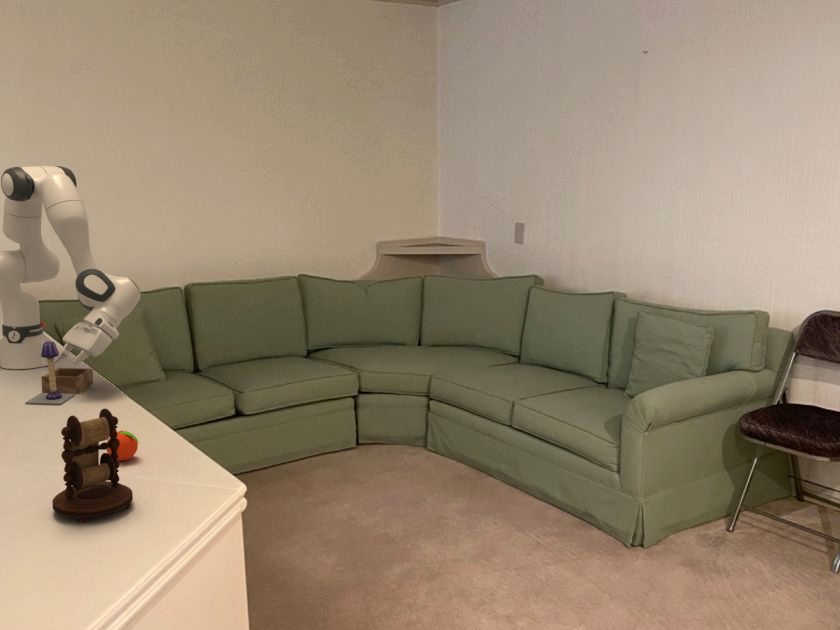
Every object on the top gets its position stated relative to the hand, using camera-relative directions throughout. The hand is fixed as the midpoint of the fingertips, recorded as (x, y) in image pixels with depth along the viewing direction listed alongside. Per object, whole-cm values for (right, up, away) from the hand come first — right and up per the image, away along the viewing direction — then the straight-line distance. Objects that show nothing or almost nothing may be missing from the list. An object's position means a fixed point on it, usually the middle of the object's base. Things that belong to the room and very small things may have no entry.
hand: (67, 360), depth 230 cm
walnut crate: (-5, -9, +11) cm, 15 cm away
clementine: (+34, -21, -47) cm, 61 cm away
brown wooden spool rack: (+38, -26, -73) cm, 86 cm away
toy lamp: (-4, -11, -2) cm, 12 cm away
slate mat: (-4, -11, -2) cm, 12 cm away
